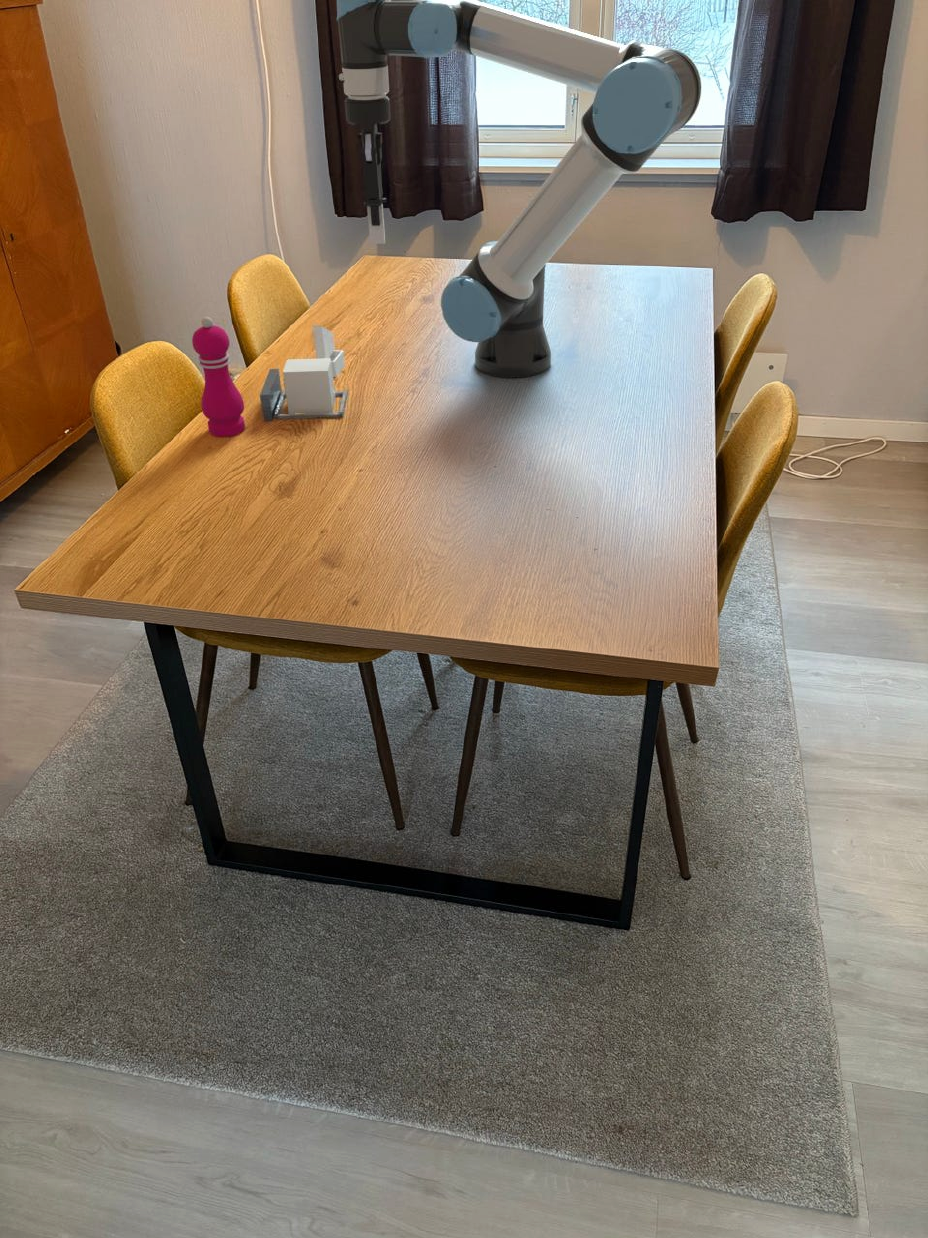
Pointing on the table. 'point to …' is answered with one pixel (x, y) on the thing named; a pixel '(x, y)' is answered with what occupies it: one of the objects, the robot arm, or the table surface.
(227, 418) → the pepper mill
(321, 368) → the block
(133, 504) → the table surface
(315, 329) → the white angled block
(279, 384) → the rail plate
